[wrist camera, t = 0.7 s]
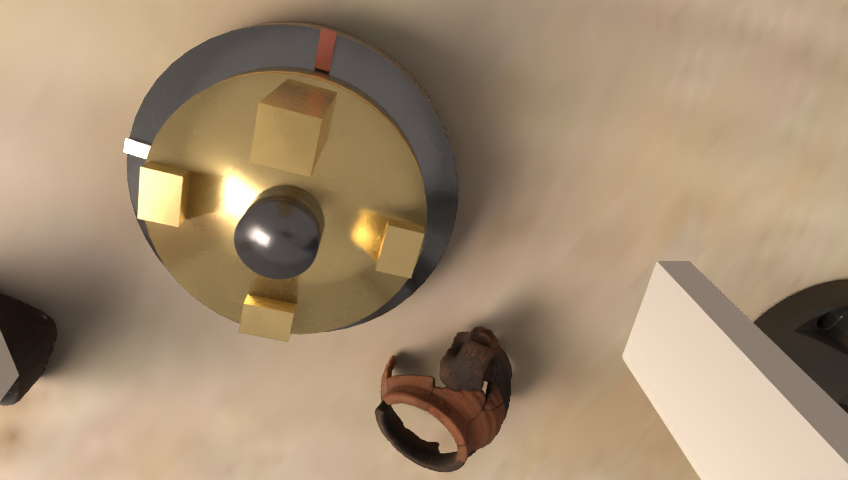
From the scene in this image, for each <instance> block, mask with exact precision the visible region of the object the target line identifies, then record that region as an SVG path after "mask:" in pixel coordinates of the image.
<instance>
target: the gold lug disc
mask: <svg viewBox="0 0 848 480" xmlns="http://www.w3.org/2000/svg"><path fill="white" fill-rule="evenodd" d="M275 186H292V187H295V188H299V189H301V190H303V191H305V192H306V193H308V194H309V195H311V196H312V197H313V198H314V199H315V200H316V201H317V203H318V204H319V206H320V207H321V209H322V212H323V215H324V220H325V226H324V231H323V235H322V238H321V242H320V245H319V248H318V252H317V255H316V258H315V260H314V262H313V263H312V265H311V266H310V267H309V268H308V269H307V270H306V271H305V272H303V273H302V274H300V275H298V276H296V277H292V278H288V279H271V278H267V277H264V276H261V275H259V274H257V273H255V272H253V271H252V270H251V269H249V268H248V267H247V266H246V265H245V264H244V263H243V262H242V260H241V259H240V258H239V256H238V254H237V252H236V249H235V245H234V232H235V228H236V226H237V224H238V222H239V220H240V219H241V217H242V216H243V214H244V213H245V212H246V210H247V209H248V207H249V206H250V204H251V203H252V201H253V200H254V199H255V197H256V196H257V195H258V194H259V193H261V192H262V191H264V190H266V189H268V188H271V187H275ZM137 218H139V219H143V220H145V223H146V227H147V230H148V233H149V236H150V239H151V241H152V243H153V245H154V247H155V250H156V252H157V254H158V255H159V257H160V258H161V260H162V262H163V263H164V265H165V266H166V268H167V269H168V270H169V272H170V273H171V274H172V275H173V277H174V278H175V279H176V280H177V282H178V283H179V284H181V285H182V286H183V287H184V288H185V289H186V290H187V291H188V292H189V293H190V294H191V295H192V296H193V297H195V298H196V299H197V300H198V301H200V302H201V303H202V304H204V305H205V306H207V307H208V308H210V309H212V310H213V311H215V312H216V313H218V314H220V315H222V316H224V317H226V318H228V319H230V320H232V321H234V322H237V323H240V328H239V333H244V334H249V335H254V336H260V337H265V338H270V339H275V340H280V341H286V342H288V340H289V337H290V334H310V333H319V332H325V331H330V330H334V329H338V328H341V327H344V326H348V325H350V324H352V323H354V322H357V321H359V320H361V319H363V318H365V317H367V316H368V315H370V314H372V313H373V312H375V311H377V310H378V309H379V308H381V307H382V306H383V305H384V304H386V303H387V302H388V301H389V300H390V299H391V298H392V297H393V296H394V295H395V294H396V293H397V292H398V291H399V290H400V289H401V288H402V286H403V285H404V284H405V282H406V281H407V280H408V278H411V277H412V273H413V270H414V268H415V266H416V264H417V261H418V259H419V256H420V254H421V251H422V248H423V244H424V240H425V235H426V226H427V204H426V195H425V189H424V183H423V178H422V173H421V168H420V165H419V162H418V159H417V156H416V154H415V151H414V149H413V147H412V145H411V143H410V141H409V139H408V137H407V136H406V134H405V133H404V132H403V130H402V129H401V127H400V126H399V124H398V123H397V122H396V120H395V119H394V118H393V117H392V116H391V115H390V114H389V113H388V111H387V110H386V109H385V108H384V107H382V106H381V105H380V104H379V103H378V102H377V101H376V100H374V99H373V98H372V97H371V96H369V95H368V94H366V93H365V92H363V91H362V90H360V89H359V88H357V87H356V86H354V85H352V84H350V83H348V82H346V81H344V80H342V79H340V78H337V77H334V76H331V75H328V74H326V73H323V72H319V71H314V70H310V69H305V68H297V67H283V66H282V67H266V68H260V69H255V70H250V71H245V72H242V73H239V74H237V75H234V76H231V77H228V78H226V79H224V80H222V81H220V82H219V83H217V84H215V85H213V86H211V87H209V88H207V89H205V90H203V91H201V92H200V93H198V94H196V95H194V96H193V97H192V98H190V99H189V100H188V101H186V102H185V103H184V104H182V105H181V106H180V107H179V108H178V109H177V110H176V111H175V112H174V113H173V114H172V115H171V116H170V117H169V118H168V119H167V121H166V122H165V123H164V125H163V126H162V128H161V129H160V130H159V132H158V133H157V135H156V137H155V139H154V141H153V143H152V145H151V147H150V149H149V152H148V155H147V159H146V162H145V164H144V165H142V166H141V167H140V184H139V200H138V217H137Z"/></svg>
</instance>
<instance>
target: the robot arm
mask: <svg viewBox="0 0 848 480" xmlns="http://www.w3.org/2000/svg"><path fill="white" fill-rule="evenodd" d="M622 358H623V360H624V361H625V363H626V365H627V366H628V368H629V369H630V371H631V372H632V374H633V375H634V377H635V378H636V380H637V382H638V383H639V385H640V386H641V388H642V389H643V391H644V392H645V394H646V395H647V397H648V399H649V400H650V402H651V403H652V405H653V406H654V408H655V409H656V411H657V412H658V414H659V416H660V417H661V419H662V420H663V422H664V423H665V425H666V426H667V428H668V429H669V431H670V433H671V434H672V436H673V437H674V439H675V440H676V442H677V443H678V445H679V447H680V448H681V450H682V451H683V453H684V454H685V456H686V457H687V459H688V460H689V462H690V464H691V465H692V467H693V468H694V470H695V471H696V473H697V474H698V476H699V477H700V479H701V480H848V280H843V281H835V282H830V283H825V284H821V285H818V286H815V287H811V288H809V289H806V290H803V291H801V292H799V293H797V294H794V295H792V296H791V297H789V298H787V299H785V300H783V301H782V302H780V303H778V304H777V305H775V306H774V307H772V308H771V309H770V310H768V311H767V312H766V313H764V314H763V315H762V316H761V317H760V318H758V319H757V320H756V321H755V322H754V323H753V322H752V321H751V320H750V319H749V318H748V317H747V316H746V315H745V314H744V313H743V312H742V311H741V310H740V309H739V308H737V307H736V306H735V305H734V304H733V303H732V302H731V301H730V300H729V299H728V298H727V297H726V296H725V295H724V294H723V293H722V292H721V291H720V290H719V289H718V288H717V287H716V286H715V285H714V284H713V283H712V282H711V281H709V280H708V279H707V278H706V277H705V276H704V275H703V274H702V273H701V272H700V271H699V270H698V269H697V268H696V267H695V266H694V265H693V264H692V263H691V262H690V261H657V263H656V265H655V268H654V271H653V274H652V276H651V279H650V282H649V285H648V287H647V290H646V293H645V296H644V298H643V301H642V304H641V306H640V309H639V312H638V315H637V317H636V320H635V323H634V326H633V328H632V331H631V334H630V337H629V339H628V342H627V345H626V348H625V350H624V353H623V356H622ZM18 376H19V374H18V371H17V369H16V367H15V364H14V362H13V359H12V357H11V355H10V352H9V350H8V347H7V345H6V343H5V340H4V338H3V335H2V333H1V331H0V401H1V400H2V398H3V397H4V396H5V394H6V393H7V392H8V390H9V389H10V387H11V386H12V385H13V383H14V382H15V381H16V379H17V378H18Z"/></svg>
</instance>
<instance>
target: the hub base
mask: <svg viewBox="0 0 848 480" xmlns="http://www.w3.org/2000/svg"><path fill="white" fill-rule="evenodd" d="M282 66H283V67H297V68H305V69H310V70H314V71H319V72H323V73H326V74H328V75H331V76H334V77H337V78H340V79H342V80H344V81H346V82H348V83H350V84H352V85H354V86H356V87H357V88H359V89H360V90H362V91H363V92H365V93H366V94H368V95H369V96H371V97H372V98H373V99H374V100H376V101H377V102H378V103H379V104H380V105H381V106H382V107H384V108H385V109H386V110H387V111H388V113H389V114H390V115H391V116H392V117H393V118H394V119H395V120H396V122H397V123H398V124H399V126H400V127H401V129H402V130H403V132H404V133H405V134H406V136H407V137H408V139H409V141H410V143H411V145H412V147H413V149H414V151H415V154H416V156H417V159H418V162H419V165H420V168H421V173H422V178H423V183H424V189H425V195H426V204H427V226H426V235H425V240H424V244H423V248H422V251H421V254H420V256H419V259H418V261H417V264H416V266H415V268H414V270H413V273H412V277H411V278H408V280H407V281H406V282H405V284H404V285H403V286H402V288H401V289H400V290H399V291H398V292H397V293H396V294H395V295H394V296H393V297H392V298H391V299H390V300H389V301H388V302H387V303H386V304H384V305H383V306H382V307H381V308H379V309H378V310H377V311H375V312H373V313H372V314H370V315H368V316H367V317H365V318H363V319H361V320H359V321H357V322H354V323H352V324H350V325H348V326H344V327H341V328H338V329H334V330H340V329H345V328H349V327H352V326H356V325H359V324H362V323H365V322H367V321H370V320H372V319H374V318H377V317H379V316H381V315H383V314H385V313H386V312H388V311H390V310H391V309H393V308H395V307H397V306H398V305H399V304H400V303H402V302H403V301H404V300H406V299H407V298H408V297H410V296H411V295H412V294H413V293H414V292H415V291H416V290H417V289H418V288H419V287H420V286H421V285H422V284H423V283H424V282H425V280H426V279H427V278H428V277H429V275H430V274H431V273H432V271H433V270H434V269H435V267H436V266H437V264H438V262H439V260H440V259H441V257H442V255H443V253H444V251H445V249H446V246H447V244H448V242H449V239H450V237H451V233H452V230H453V226H454V222H455V218H456V210H457V201H458V186H457V174H456V167H455V161H454V157H453V153H452V150H451V147H450V144H449V141H448V137H447V135H446V132H445V129H444V127H443V124H442V122H441V120H440V118H439V116H438V114H437V111H436V109H435V107H434V106H433V104H432V102H431V101H430V99H429V98H428V96H427V95H426V93H425V91H424V90H423V89H422V88H421V86H420V85H419V84H418V83H417V82H416V80H415V79H414V78H413V77H412V76H411V74H410V73H409V72H407V71H406V70H405V69H404V68H403V67H402V66H401V65H400V64H399V63H398V62H397V61H395V60H394V59H393V58H392V57H390V56H389V55H387V54H386V53H385V52H383V51H382V50H380V49H379V48H377V47H376V46H374V45H372V44H370V43H368V42H367V41H365V40H363V39H361V38H359V37H357V36H355V35H352V34H349V33H346V32H344V31H341V30H338V29H336V28H331V27H327V26H322V25H318V24H313V23H301V22H276V23H266V24H261V25H256V26H251V27H246V28H242V29H238V30H234V31H230V32H228V33H225V34H222V35H219V36H217V37H214V38H211V39H209V40H207V41H205V42H203V43H202V44H200V45H198V46H196V47H194V48H193V49H191V50H189V51H188V52H186V53H185V54H184V55H183V56H181V57H180V58H179V59H177V60H176V61H175V62H174V63H172V64H171V65H170V66H169V67H168V68H167V69H166V71H165V72H164V73H163V74H162V75H161V76H160V77H159V78H158V79H157V80H156V82H155V83H154V85H153V86H152V87H151V89H150V90H149V92H148V93H147V95H146V96H145V98H144V100H143V102H142V104H141V106H140V108H139V111H138V113H137V115H136V117H135V120H134V124H133V127H132V131H131V134H130V138H126V139H125V146H124V152H126V153H128V154H127V180H128V186H129V192H130V198H131V202H132V205H133V208H134V212H135V215H136V218H137V217H138V200H139V184H140V167H141V166H142V165H144V164H145V162H146V159H147V155H148V152H149V149H150V147H151V145H152V143H153V141H154V139H155V137H156V135H157V133H158V132H159V130H160V129H161V128H162V126H163V125H164V123H165V122H166V121H167V119H168V118H169V117H170V116H171V115H172V114H173V113H174V112H175V111H176V110H177V109H178V108H179V107H180V106H181V105H182V104H184V103H185V102H186V101H188V100H189V99H190V98H192V97H193V96H194V95H196V94H198V93H200V92H201V91H203V90H205V89H207V88H209V87H211V86H213V85H215V84H217V83H219V82H220V81H222V80H224V79H226V78H228V77H231V76H234V75H237V74H239V73H242V72H245V71H250V70H255V69H260V68H266V67H282ZM137 221H138V223H139V225H140V227H141V229H142V231H143V234H144V236H145V238H146V240H147V241H148V243H149V245H150V246H151V248H152V249H153V251H154V253H155V254H156V256H157V257H158V258H159V260H160V261H161V262H162V260H161V258H160V257H159V255H158V254H157V252H156V250H155V247H154V245H153V243H152V241H151V239H150V236H149V233H148V230H147V227H146V223H145V220H143V219H139V218H137ZM324 226H325V220H324V215H323V212H322V209H321V207H320V206H319V204H318V203H317V201H316V200H315V199H314V198H313V197H312V196H311V195H309V194H308V193H306V192H305V191H303V190H301V189H299V188H295V187H292V186H275V187H271V188H268V189H266V190H264V191H262V192H261V193H259V194H258V195H257V196H256V197H255V199H254V200H253V201H252V203H251V204H250V206H249V207H248V209H247V210H246V212H245V213H244V214H243V216H242V217H241V219H240V220H239V222H238V224H237V226H236V228H235V232H234V245H235V249H236V252H237V254H238V256H239V258H240V259H241V260H242V262H243V263H244V264H245V265H246V266H247V267H248V268H249V269H251V270H252V271H253V272H255V273H257V274H259V275H261V276H264V277H267V278H271V279H288V278H292V277H296V276H298V275H300V274H302V273H303V272H305V271H306V270H307V269H308V268H309V267H310V266H311V265H312V263H313V262H314V260H315V258H316V255H317V252H318V248H319V245H320V242H321V238H322V235H323V231H324ZM162 263H163V262H162ZM163 265H164V263H163ZM164 266H165V265H164ZM165 267H166V266H165ZM168 271H169V270H168ZM334 330H330V331H334ZM325 332H329V331H325Z"/></svg>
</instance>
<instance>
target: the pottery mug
mask: <svg viewBox="0 0 848 480" xmlns="http://www.w3.org/2000/svg"><path fill="white" fill-rule="evenodd" d="M395 363H396V358H395V356H392V357H391V358H390V360H389V362H388V364H387V365H386V368H385V371H384V373H383V375H382V380H381V382H382V383H381V400H382V402H381V403H380V405H379V406H378V407H377V408H376V410H375V415H376V420H377V422H378V426H379V428H380V430H381V431H382V433H383V435H384V436H385V437H386V438H387V440H388V441H390V442H391V444H392V445H393V446H394V447H395V448H396V450H397V451H399V452H400V453H402V454H403V455H404V456H405V457H406V458H408V459H409V460H411V461H413V462H414V463H416V464H418V465H420V466H422V467H424V468H428V469H430V470H434V471H438V472H452V471H455V470H458V469H459V468H461V467H462V466H463V465H464V464H465V462H466V460H467V458H468V457H470V456H471V455H472V454H473V453H475V452H476V450H478V449H479V448H483V447H485V446H486V445H488V444H490V443H491V442H492V440H493V439H494V437H495V436H496V435H497V434H498V432H499V431H500V428H501V425H502V424H503V421H504V419H505V417H506V414H507V410H508V408H509V402H510V396H511V377H512V368H511V364H510V361H509V358H508V356H507V354H506V352H505V351H504V350H503V349H502V348H501V346H500V345H499V344H498V339H497V338H496V336H495V335H494V334H493V332H492V331H491V330H489V329H486V328H484V327H475V328H474V329H473V330H472V331H470V332H459V333H457V335H456V337H455V338H454V341H453V344H452V346H451V348H450V349H448V350H447V352H446V354H445V356H444V357H443V358H442V360H441V363H440V379H441V381H442V382H443V384H445V385H446V386H447V387H444V388H441V387H435V379H434V377H431V376H418V375H407V376H402V375H400V376H399V375H398V376H392V370H393V368H394V366H395ZM484 381H487V382H488V384H487V389H486V394H485V393H484V391H483V390H482V387H483V385H484ZM397 403H405V404H409V405H413V406H415V407H418V408H420V409H423V410H425V411H428V412H429V413H430V414H432V415H433V416H434V417H435V418H437V419H438V420H439V421H440V422H441V423H442V424H443V425H444V426H445V427H446V428H447V429H448V431H449V432H450V433H451V435H452V436H453V438H454V440H455V442H456V444H457V449H458V451H457V452H452V453H444V454H443V453H440V452H439V449H438V447H439V443H438V442H427V441H425V440H422V439H420V438H419V437H418V436H417V435H415V434H414V433H413V432H412V431H410V430H409V429H407V428H405V427H404V425H403V422H402V421H401V419H400V418H399V417H398V415H397V414H396V413H395V411H394V410H393V408H392V407H391V405H392V404H397Z"/></svg>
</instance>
